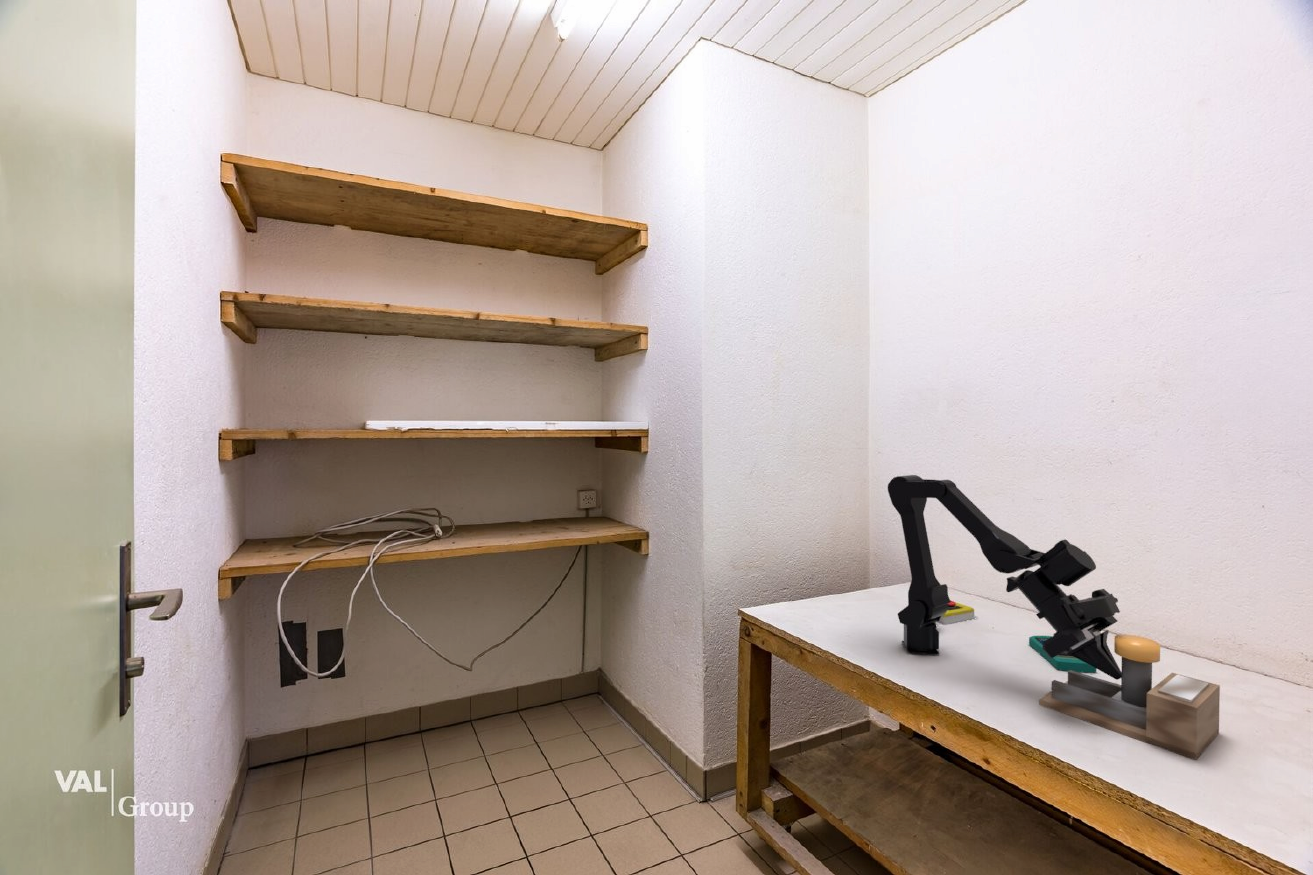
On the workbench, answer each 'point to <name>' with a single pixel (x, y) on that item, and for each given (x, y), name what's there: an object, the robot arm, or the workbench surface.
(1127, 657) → the knob carriage
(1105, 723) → the knob mount
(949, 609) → the emergency button
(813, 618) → the workbench surface
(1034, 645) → the digital multimeter
